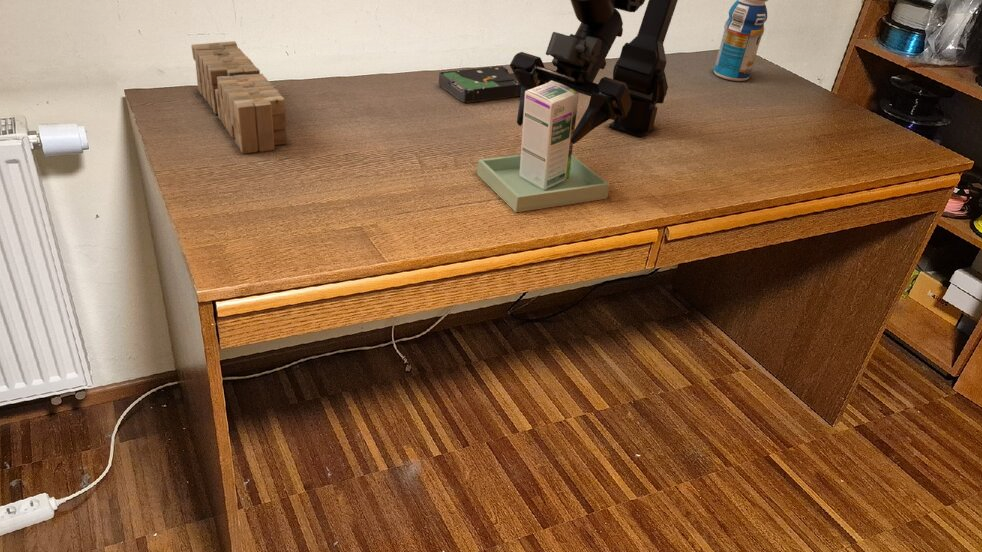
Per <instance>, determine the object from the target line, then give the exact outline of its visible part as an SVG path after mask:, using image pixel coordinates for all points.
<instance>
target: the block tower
mask: <svg viewBox="0 0 982 552" xmlns="http://www.w3.org/2000/svg"><path fill="white" fill-rule="evenodd" d="M190 48H191V54H192V58H193V60H194V61H195V72H196V82H197V89H198V91H199V92H200V95H201V96H202V97H203V98H204V99H205V102H206V103H207V104H208V105H209V106H210V108H211V109H212V112H213V113H214V114H215V115H218V119H219V121H221V123H222V125H223V126H224V128H225V129H226V131H227V132H228V134H229V135H230V136H231V138H232V139H234V142H235V144H236V146H237V147H238V148H239V150H240V152H241V153H242V154H251V153H256V152H260V153H261V152H268V151H274V150H275V146H279V145H286V144H288V135H287V119H286V118H287V117H286V101H285V97H284V96H283V95H281V93H280V92H279V90H278V89H276V88H275V86H273V84H272V83H271V82H270V81H269V80H268V79H267V77H266V76H265V75H264V74H263V73H261V71H260V69H259V67H256V65H255V64H254V62H252V60H251V59H250V58H249V57H248V56H247V55H246V54H245V53H244V52H243V51H242V50H241V49H240V47H238V44H237V42H236V41H235V40H234V41H233V40H232V41H231V40H230V41H220V42H209V43H208V42H207V43H193V44H191V47H190Z"/></svg>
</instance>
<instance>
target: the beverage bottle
mask: <svg viewBox="0 0 982 552" xmlns="http://www.w3.org/2000/svg"><path fill="white" fill-rule="evenodd" d="M768 1H769V0H735V2H734V3H733V4H732V5H731V7H730V8H729V10H728V18H727V20H725V22H724V26H723V29H724V30H723V33H722V37H721V42H720V45H719V48H718V53H717V56H716V60H715V63H714V67H713V73H714V75H715V76H717V77H719V78H721V79H724V80H727V81H733V82H745V81H747V80H749V79H750V77H751V74H752V70H753V66H754V63H755V60H756V56H757V53H758V50H759V46H760V43H761V41H762V36H763V35H764V32H765V23H766V21H767V20H768V7H767V5H766V2H768Z"/></svg>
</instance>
